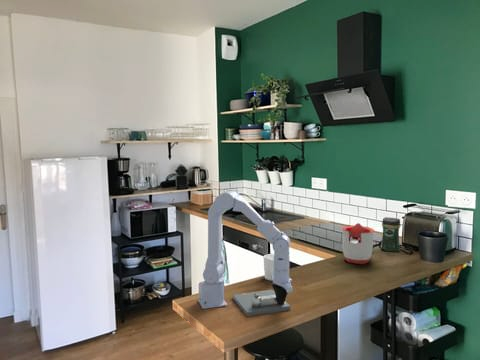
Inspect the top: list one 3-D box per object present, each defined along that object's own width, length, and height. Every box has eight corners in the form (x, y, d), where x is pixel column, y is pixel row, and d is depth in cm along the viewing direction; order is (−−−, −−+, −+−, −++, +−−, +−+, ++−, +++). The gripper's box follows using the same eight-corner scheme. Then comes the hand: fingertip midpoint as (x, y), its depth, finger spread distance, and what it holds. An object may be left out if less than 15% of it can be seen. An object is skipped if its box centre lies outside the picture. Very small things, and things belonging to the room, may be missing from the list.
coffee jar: (400, 249, 223) (402, 217, 221) (397, 253, 217) (398, 220, 215) (383, 246, 229) (384, 215, 227) (379, 250, 222) (380, 218, 220)
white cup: (259, 277, 177) (260, 256, 176) (271, 273, 183) (271, 252, 182) (273, 282, 172) (273, 260, 171) (284, 278, 177) (284, 256, 176)
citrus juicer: (337, 263, 198) (338, 225, 196) (345, 254, 213) (346, 218, 211) (369, 268, 190) (370, 228, 188) (375, 259, 206) (376, 221, 204)
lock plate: (247, 316, 139) (247, 300, 138) (232, 298, 154) (232, 283, 154) (290, 309, 145) (290, 293, 144) (272, 293, 160) (272, 278, 159)
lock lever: (253, 308, 141) (253, 299, 141) (250, 304, 145) (250, 296, 144) (284, 303, 145) (284, 295, 145) (280, 300, 149) (280, 292, 148)
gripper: (300, 273, 137) (299, 310, 138) (282, 261, 150) (282, 295, 152) (282, 275, 135) (281, 313, 136) (265, 263, 148) (265, 297, 150)
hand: (280, 304), depth 144 cm, fingers closed
